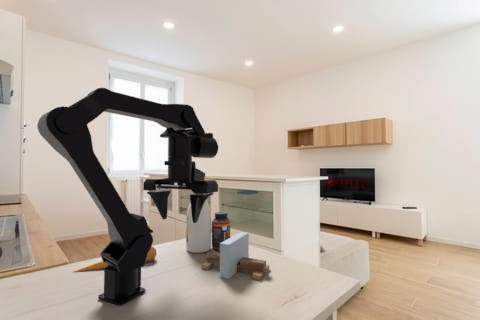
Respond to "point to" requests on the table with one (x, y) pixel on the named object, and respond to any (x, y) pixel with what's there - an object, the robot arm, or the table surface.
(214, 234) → the supplement bottle
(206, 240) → the green-capped white bottle
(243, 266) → the walnut crossed blocks
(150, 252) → the carrot
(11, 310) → the table surface
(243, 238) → the pale blue flat block
